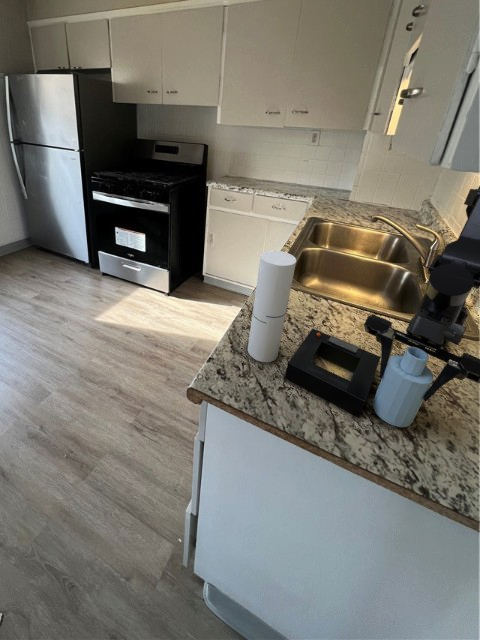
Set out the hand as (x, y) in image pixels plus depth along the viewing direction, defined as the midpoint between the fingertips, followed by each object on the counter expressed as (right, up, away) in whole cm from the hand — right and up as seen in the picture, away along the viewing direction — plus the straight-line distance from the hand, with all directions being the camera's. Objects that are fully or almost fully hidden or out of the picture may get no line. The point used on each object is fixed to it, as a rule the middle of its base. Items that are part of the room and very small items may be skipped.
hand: (401, 388), depth 56 cm
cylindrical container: (-20, +1, +19) cm, 28 cm away
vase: (+1, -6, +4) cm, 7 cm away
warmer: (-7, -3, +13) cm, 15 cm away
